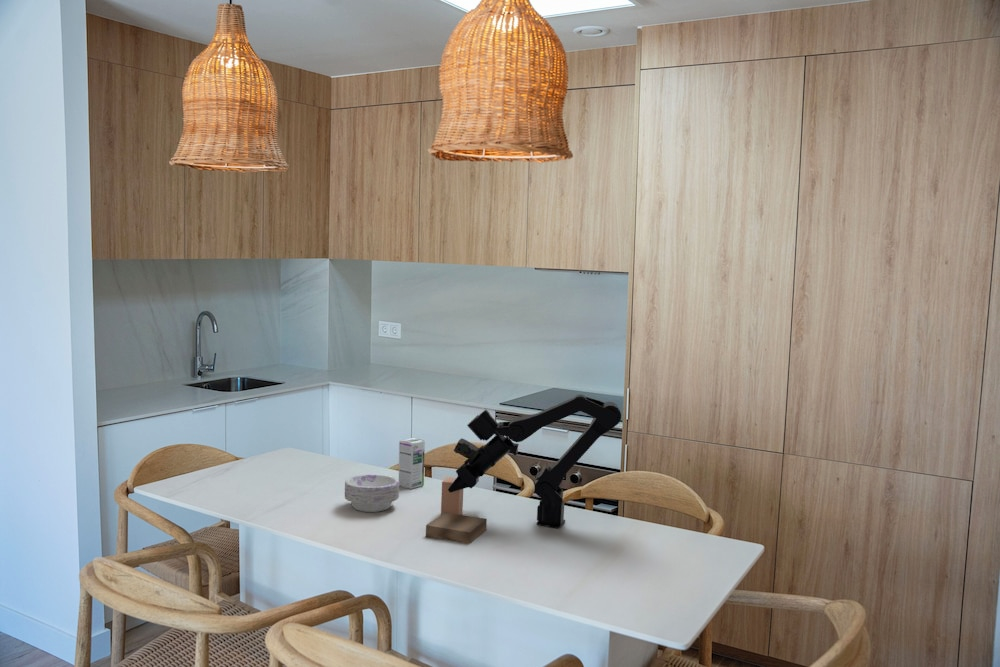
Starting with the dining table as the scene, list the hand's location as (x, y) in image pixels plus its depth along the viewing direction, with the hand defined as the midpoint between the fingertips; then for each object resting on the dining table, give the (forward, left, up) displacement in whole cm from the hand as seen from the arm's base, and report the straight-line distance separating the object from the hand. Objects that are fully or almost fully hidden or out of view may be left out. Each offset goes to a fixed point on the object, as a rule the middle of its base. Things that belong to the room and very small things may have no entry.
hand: (451, 488), depth 226 cm
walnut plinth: (-7, +13, -8) cm, 17 cm away
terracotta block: (0, 0, -8) cm, 8 cm away
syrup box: (+23, -21, -8) cm, 32 cm away
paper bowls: (+23, +4, -8) cm, 24 cm away
